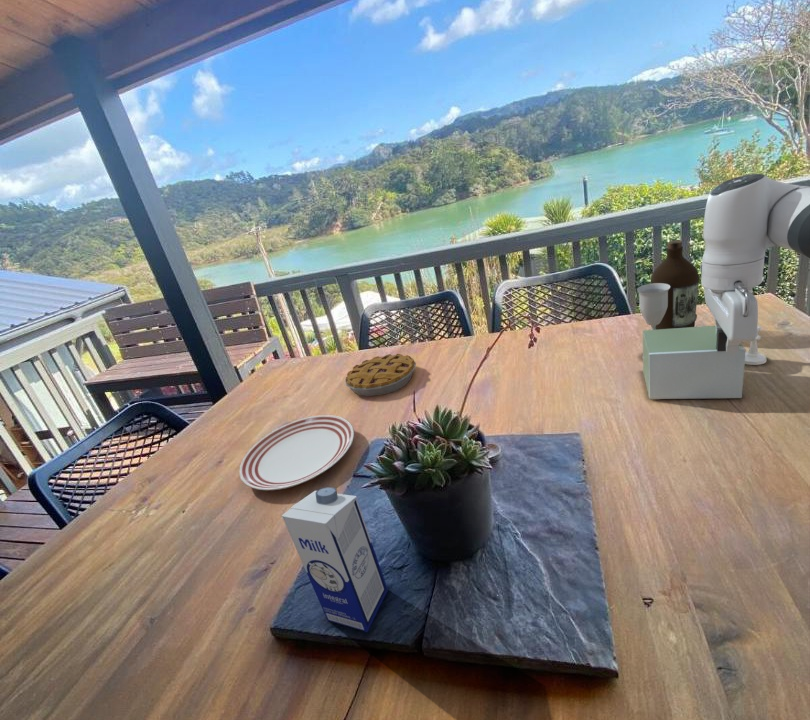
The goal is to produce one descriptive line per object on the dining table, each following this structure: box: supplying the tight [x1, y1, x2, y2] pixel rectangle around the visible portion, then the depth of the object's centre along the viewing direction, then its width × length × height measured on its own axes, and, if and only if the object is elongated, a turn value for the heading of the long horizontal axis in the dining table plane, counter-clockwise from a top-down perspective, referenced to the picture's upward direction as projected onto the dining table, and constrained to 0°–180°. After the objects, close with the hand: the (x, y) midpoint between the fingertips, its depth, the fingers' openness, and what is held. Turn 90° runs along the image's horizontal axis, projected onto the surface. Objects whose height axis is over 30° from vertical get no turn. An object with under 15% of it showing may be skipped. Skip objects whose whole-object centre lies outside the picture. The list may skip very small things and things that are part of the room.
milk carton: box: [281, 486, 389, 633], centre depth 60 cm, size 7×7×20 cm
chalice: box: [636, 283, 670, 359], centre depth 105 cm, size 7×7×18 cm
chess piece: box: [745, 325, 768, 366], centre depth 96 cm, size 5×5×10 cm
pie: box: [344, 353, 417, 397], centre depth 132 cm, size 22×22×5 cm
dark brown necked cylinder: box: [649, 240, 700, 330], centre depth 112 cm, size 11×11×25 cm
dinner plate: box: [239, 414, 355, 491], centre depth 103 cm, size 27×27×3 cm
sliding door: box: [648, 330, 747, 400], centre depth 87 cm, size 1×16×15 cm, turn 69°
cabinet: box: [642, 325, 744, 397], centre depth 93 cm, size 12×16×11 cm
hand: (726, 344), depth 83 cm, fingers open, 6 cm apart
